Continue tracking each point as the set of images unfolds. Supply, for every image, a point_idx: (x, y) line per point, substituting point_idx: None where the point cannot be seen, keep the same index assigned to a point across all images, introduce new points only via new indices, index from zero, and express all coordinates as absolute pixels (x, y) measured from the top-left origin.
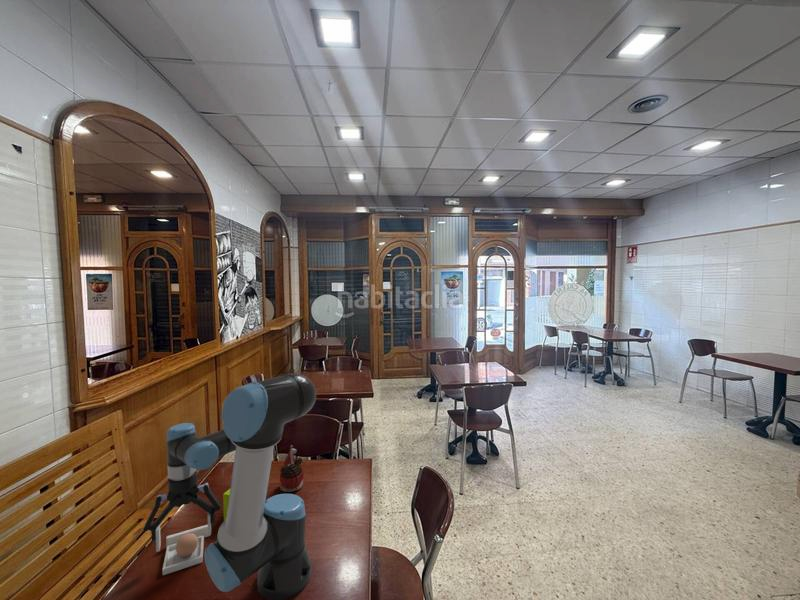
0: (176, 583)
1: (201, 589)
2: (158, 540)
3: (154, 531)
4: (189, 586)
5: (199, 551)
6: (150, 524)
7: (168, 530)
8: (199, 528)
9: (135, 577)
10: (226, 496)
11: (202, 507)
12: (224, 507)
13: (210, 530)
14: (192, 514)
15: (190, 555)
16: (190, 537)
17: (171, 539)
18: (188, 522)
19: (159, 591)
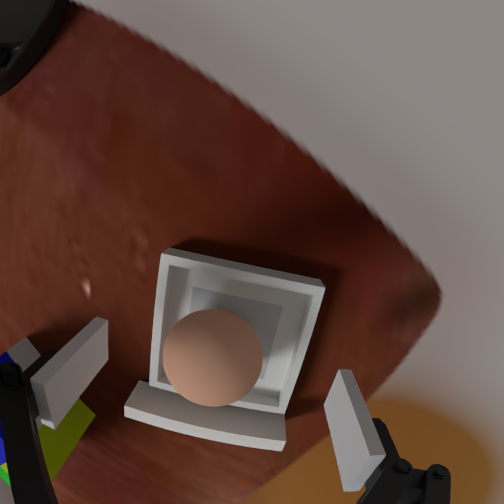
0: (278, 190)
1: (197, 90)
2: (355, 407)
3: (384, 457)
4: (235, 135)
5: (172, 315)
6: (426, 495)
7: (264, 477)
8: (158, 418)
9: (395, 333)
10: None
11: (30, 453)
12: (70, 443)
13: (84, 328)
14: (191, 492)
15: None
16: (187, 363)
17: (267, 431)
18: (204, 475)
19: (341, 192)
